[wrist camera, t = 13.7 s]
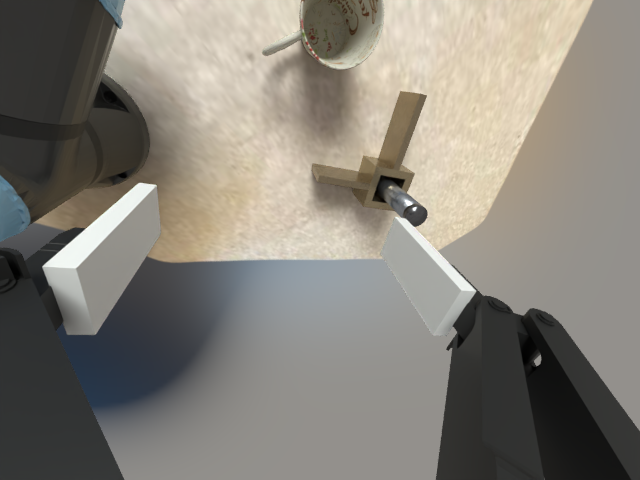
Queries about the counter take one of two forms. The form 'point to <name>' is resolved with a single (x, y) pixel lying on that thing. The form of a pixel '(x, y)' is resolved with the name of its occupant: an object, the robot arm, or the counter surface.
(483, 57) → the counter surface
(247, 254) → the counter surface
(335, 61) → the mug
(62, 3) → the robot arm
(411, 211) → the pin
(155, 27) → the counter surface
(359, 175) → the hinge
